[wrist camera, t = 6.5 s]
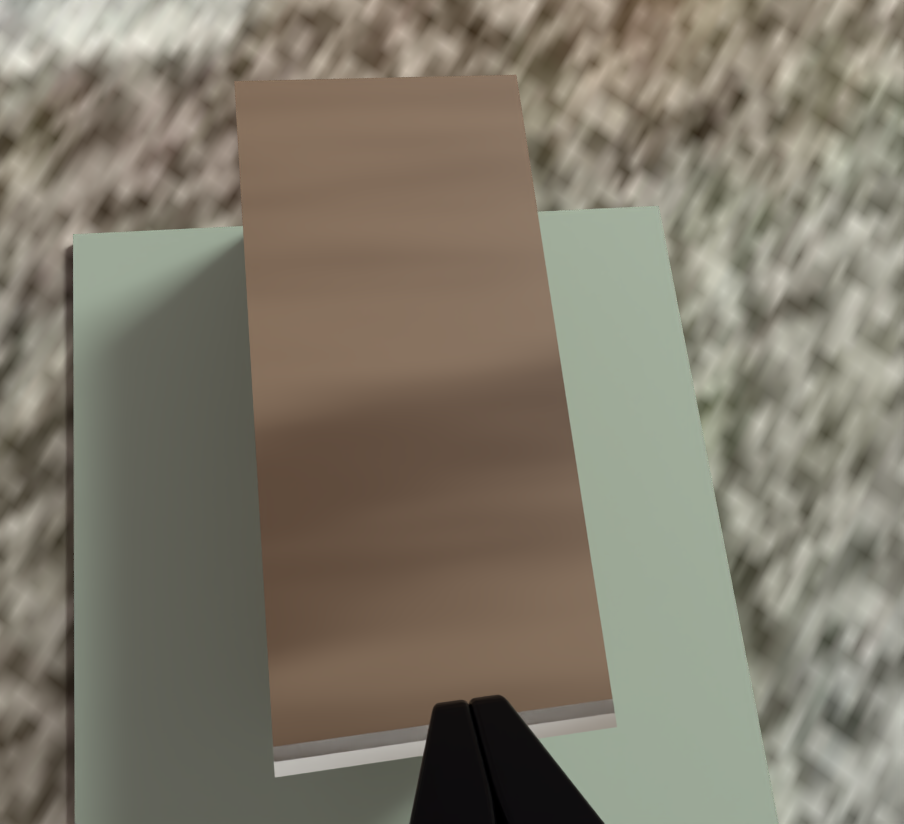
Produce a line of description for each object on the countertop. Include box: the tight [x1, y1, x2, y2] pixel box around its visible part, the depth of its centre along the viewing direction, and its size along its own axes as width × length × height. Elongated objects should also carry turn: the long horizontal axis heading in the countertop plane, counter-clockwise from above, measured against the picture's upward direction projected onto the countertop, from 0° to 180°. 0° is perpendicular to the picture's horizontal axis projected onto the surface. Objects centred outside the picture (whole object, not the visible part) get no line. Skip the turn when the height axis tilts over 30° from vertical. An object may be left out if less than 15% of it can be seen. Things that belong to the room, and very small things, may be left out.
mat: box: [73, 206, 779, 824], centre depth 16 cm, size 20×14×1 cm
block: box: [234, 75, 617, 777], centre depth 15 cm, size 5×5×11 cm
